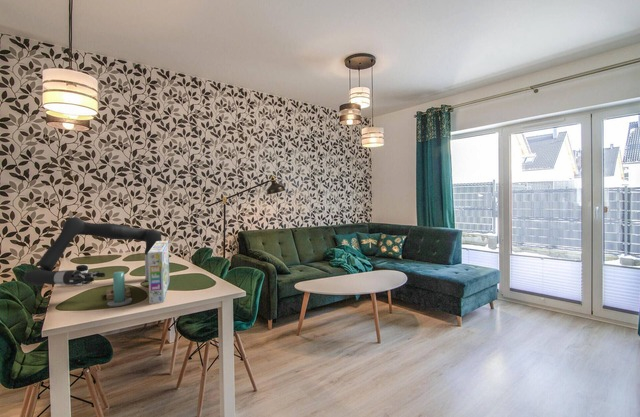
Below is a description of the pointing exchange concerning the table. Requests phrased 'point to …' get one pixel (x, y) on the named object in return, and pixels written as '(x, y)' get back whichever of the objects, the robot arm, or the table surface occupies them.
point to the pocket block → (111, 293)
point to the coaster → (113, 304)
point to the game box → (158, 271)
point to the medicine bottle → (83, 270)
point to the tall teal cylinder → (119, 286)
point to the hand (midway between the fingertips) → (99, 276)
